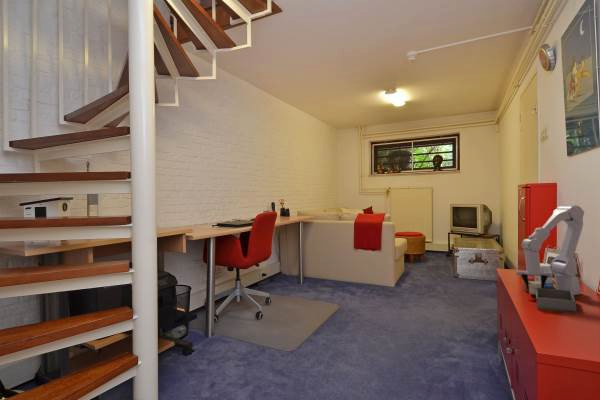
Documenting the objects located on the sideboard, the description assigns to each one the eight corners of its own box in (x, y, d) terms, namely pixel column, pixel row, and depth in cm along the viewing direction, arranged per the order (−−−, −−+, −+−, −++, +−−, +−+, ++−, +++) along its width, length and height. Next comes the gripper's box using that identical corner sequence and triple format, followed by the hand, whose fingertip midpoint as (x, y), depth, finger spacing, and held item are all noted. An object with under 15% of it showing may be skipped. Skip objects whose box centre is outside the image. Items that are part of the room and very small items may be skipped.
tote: (536, 298, 153) (535, 287, 153) (572, 301, 145) (571, 290, 145) (537, 309, 139) (536, 297, 139) (576, 313, 131) (575, 301, 132)
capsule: (528, 289, 168) (527, 276, 168) (537, 291, 163) (536, 278, 163) (521, 290, 167) (519, 277, 167) (529, 292, 162) (528, 279, 162)
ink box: (553, 288, 166) (551, 265, 167) (543, 288, 167) (541, 266, 168) (544, 283, 175) (542, 262, 175) (534, 284, 176) (532, 263, 176)
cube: (529, 291, 160) (528, 281, 161) (541, 292, 157) (540, 282, 158) (529, 294, 156) (528, 283, 156) (542, 295, 153) (541, 284, 154)
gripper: (514, 264, 158) (517, 290, 158) (551, 265, 150) (554, 293, 149) (515, 261, 164) (518, 287, 164) (550, 262, 155) (553, 289, 155)
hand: (535, 290), depth 157 cm, fingers closed on cube, 5 cm apart
